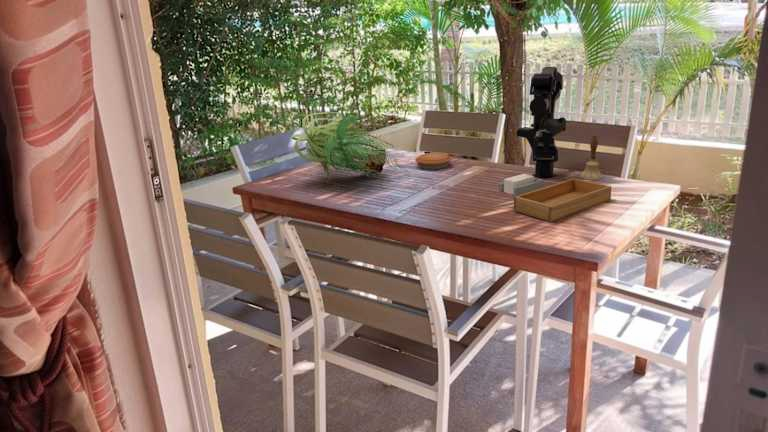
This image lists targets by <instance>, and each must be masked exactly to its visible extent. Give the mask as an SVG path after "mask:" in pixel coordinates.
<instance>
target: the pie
mask: <svg viewBox="0 0 768 432" xmlns="http://www.w3.org/2000/svg"><path fill="white" fill-rule="evenodd" d="M452 159H453V157H452V156H450V155H449V154H447V153H444V152H428V153H421V154H420V155H418V156H417V157H415V158H414V161H415V163H416V164H418V166H419V167H420V168H421V169H423V170H425V171H426V170H427V171H438V170H445V169H446V168H447V167H448V166H449V164H450V162H451V161H452Z"/></svg>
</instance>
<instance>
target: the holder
mask: <svg viewBox="0 0 768 432" xmlns="http://www.w3.org/2000/svg"><path fill="white" fill-rule="evenodd" d="M498 184H499V185H498V187H499V189H498V191H499V192H501V193H502V192H504V181H500V182H499V183H498ZM540 188H544V180H541V179H537V178H534V182H532V183H529V184H525V185H521V186H517V187H513V195H514V196H513V195H512V196H513V197H515V196H518V195H521V194H524V193H528V192H531V191H534V190H537V189H540Z"/></svg>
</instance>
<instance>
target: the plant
mask: <svg viewBox="0 0 768 432" xmlns="http://www.w3.org/2000/svg"><path fill="white" fill-rule="evenodd" d="M352 110H353V109H351V110H350V109H349V111H352ZM345 112H347V111H344V113H345ZM339 113H340V114H339ZM341 113H342V111H340V112H339V111H337V112H336V111H335V112H334V111H333V112H332V111H330V112H329V111H323V112H321V111H320V112H313V113H309V114H307V115H305V116H304V117H303V119H302V122H301V123H302V124H301V125H302V126H301V127H302V129H303V132H304V134H300V133H299V134H294V135H292V137H291V140H292V141H295V144H294V147H295V148H294V149H295V151H296V153H297V154H298V155H299V156H300V157H301V158H302V159H303V160H305V161H306V162H307V163H309V165H310V166H313V163H316V164H315V166H319V167H322V168H323V169H320V171H321V172H319V173H317V175H323V174H326V175H324V177H325V178H328V179H327V181H326V183H328V182H329V181H331V180H332V174H333V173H341V174H343V172H344V174H345V176H344V177H345V178H347V176H348V175H350V174H351V173H352V174H351V176H353V175H354V174H356V173H357V174H358V177H360V174H362V175H366V177H368V178H370V176H369V175H370V174H371V176H373V177H374V178H375V179H377V180H378V181H379V180H380V182H383V180H385V181H386V182H388V180H387V179H386V178H388V179H390V177H388V176H387V174H386V173H382V171H383V170H384V166H385V167H386V168H392V169H393V170H398V168H399V169H400V170H403V171H406V172H408V170H407V169H405V168H403V167H401V165H399V164H398V163H401V162H402V163H403V160H401V159H400V158H401V157H403V155H404V153H405V152H400V153H398V152H396V155H399V156H398V158H397V156H392V155H393V151H388V149H389V148H390V147H393V148H394V145H393V144H394V142H390V141H389V142H388V141H387V140H388V139H386V138H385V137H382V138H381V134H379V136H378V134H376V135H375V136H374V135H371V132H368V130H367V126H365V125H363V123H362V122H360V121H361V120H362V118H361V117H359V116H357V115H355V114H353V115H349V116H348V115H347V116H345V117H343V118H342V114H341ZM323 114H338V115H337V116H336V117H335V118H327V117H317V118H313V119H311V120H310V121H309V123H308V126H307V125H306V120H307V118H309V117H310V116H314V115H316V116H317V115H323ZM322 120H323V121H324V120H328V121H329V120H330V121H331V120H332V121H336V122H335V123H334V122H333V123H327V124H323V125H318V126H313V123H315V122H316V121H322ZM359 120H360V121H359ZM339 121H340V122H339ZM355 124H357V125H358V126H360V128H359V127H355V126H354V125H355ZM306 126H307V127H306ZM361 127H362V128H361ZM372 134H375V133H374V132H372ZM299 141H301V142H305V141H306V143H305V144H306V146H305V147H306V148H305V151H306V153H307V155H308V156H309V157H307V156H305V155H304V153H302V152H301V150H300V149H299V146H298V145H299ZM384 143H385V144H386V145H385V144H384ZM388 145H389V146H388ZM395 147H399V145H398V144H397V145H395ZM390 152H391V153H390ZM400 154H401V155H400ZM387 157H389V158H387ZM411 157H413V156H412V155H411V156H410V158H409V159H407V160H405V163H406V162H409V161H410V162H409V163H408V164H406V166H409V165H410V164H411V163H412V162H413V161H412V160H415V158H414V157H413V158H411ZM392 159H393V160H392ZM298 162H300V163H301V162H302V161H299V160H298ZM390 163H391V164H392V165H391V164H390ZM318 164H319V165H318ZM329 165H330V166H329ZM396 167H398V168H396ZM331 168H333V169H334V171H332V169H331ZM359 173H360V174H359ZM312 175H313V176H314V175H316V173H314V174H311V176H312ZM303 176H306V174H305V175H303ZM333 180H334V178H333ZM334 184H335V183H333V185H332V187H334Z"/></svg>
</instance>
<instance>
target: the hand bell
mask: <svg viewBox="0 0 768 432" xmlns="http://www.w3.org/2000/svg"><path fill="white" fill-rule="evenodd" d="M598 143H599V142H598V137H597V135H595V134H593V135H592V137H591V139H590V143H589V148H590V160H589V161H587V162H586V163H585V168H584V170H583V172H582V173H581V174H580V175H579V178H581V179H583V180H587V181H597V180H602V179H603V178H604V175H603V174H602V173H601V171H600V163H599V162H598V161H596V151H597V149H598Z"/></svg>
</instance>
